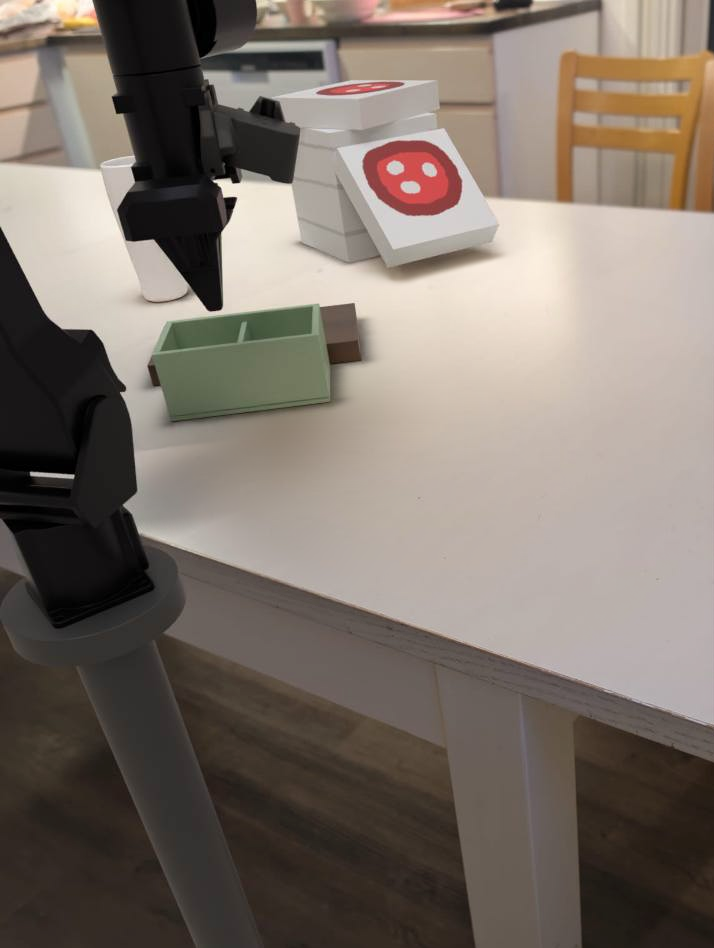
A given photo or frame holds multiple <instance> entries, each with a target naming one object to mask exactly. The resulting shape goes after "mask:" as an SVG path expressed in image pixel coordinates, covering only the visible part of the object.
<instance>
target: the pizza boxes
mask: <svg viewBox="0 0 714 948" xmlns="http://www.w3.org/2000/svg"><path fill="white" fill-rule="evenodd" d="M270 99H273V100H276V101H279V102H280V105H281V108H282V112H283V115H284V118H285V122H287V123H290V122H292V123H295V125H296V126H298V127H300V129H301V130H300V138H299V145H298V151H297V158H296V165H295V172H294V179H293V183H291V184H290V186H291V189H292V196H293V201H294V207H295V212H296V217H297V222H298V223H297V224H298V229H299V234H300V240H301V244H304V245H306V246H308V247H311V248H313V249H315V250H318V251H320V252H322V253H325V254H327V255H329V256H331V257H333V258H336V259H339V260H341V261H344V262H346V263H354V262H357V261H363V260H366V259H367V260H368V259H371V258H374V257H379V256H381V258H382V260H383V262H384V263H385V266H386V267H387V268H389V269H390V268H392V267H397V266H401V265H404V264H408V263H412V262H416V261H420V260H426V259H429V258H434V257H436V256H437V257H438V256H440V255H446V254H449V253H454V252H458V251H462V250H465V249H470V248H473V247H477V246H481V245H486V244H490V243H492V242H493V240H494V237H495V235H496V233H497V231H498V229H499V227H500V222H499V220H498V219H497V217H496V215H495V214H494V211H493V210H492V208H491V206H490V205H489V203H488V202H487V200H486V198H485V196H484V195H483V192H482V190H481V189H480V187H479V185H478V184H477V182H476V181H475V179H474V177H473V176H472V174H471V172H470V170H469V169H468V167H467V166H466V164H465V162H464V159H463V158H462V156H461V155H460V153H459V152H458V150H457V148H456V146H455V145H454V143H453V141H452V139H451V137H450V136H449V134H448V133H447V130H446V129H445V128H444V127H443V128H438V119H437V114H436V113H433V112H434V111H439V110H441V107H440V106H441V105H440V94H439V81H438V80H437V79H435V80H431V79H429V80H426V79H425V80H423V79H420V80H419V79H417V80H416V79H415V80H414V79H412V80H411V79H410V80H409V79H408V80H407V79H403V80H401V79H399V80H398V79H397V80H396V79H393V80H392V79H389V80H388V79H351V80H346V81H342V82H337V83H333V84H327V85H323V86H318V87H314V88H308V89H305V90H304V89H303V90H300V91H299V90H298V91H294V92H291V93H286V94H281V95H276V96H271V97H270Z"/></svg>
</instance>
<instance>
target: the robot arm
mask: <svg viewBox="0 0 714 948" xmlns="http://www.w3.org/2000/svg"><path fill="white" fill-rule="evenodd" d="M91 2H92V4H93V9H94V12H95V16H96V19H97V23H98V27H99V30H100V34H101V38H102V42H103V45H104V49H105V52H106V57H107V60H108V64H109V67H110V71H111V74H112V79H113V83H114V85H115V89H116V93H114V94H113V95H111V101H112V104H113V108H114V111H115V115H123V119H124V123H125V126H126V130H127V134H128V139H129V141H130V145H131V149H132V152H133V156H135V160H136V162H135V163H134V164H133V165H132V166H131V170H132V173H133V177H134V181H135V183H134V184H133V186H132V187H131V188H130V189H129V191H128V192H127V193H126V195H125V197H124V198H123V200H122V202H121V203H120V205H119V207H118V209H117V212H118V216H119V219H120V223H121V226H122V230H123V233H124V237H125V240H126V241H131V242H136V241H145V240H154V241H155V242H156V243H157V245H158V246H159V247H160V248H161V250H162V251H163V252H164V253H165V255H166V256H167V257H168V258H169V260H170V261H171V262H172V263H173V265H174V266H175V267H176V269H177V270H178V271H179V272H180V274H181V275H182V277H183V278H184V279H185V281H186V283H187V286H189V287H190V289H191V290H192V292H193V293H194V294H195V296H196V297H197V299H198V300H199V302H201V304H202V306H203V307H204V308H205V309H206V311H208V312H210V313H211V312H212V313H213V312H220V311H222V310H223V308H224V281H223V279H224V278H223V245H222V244H223V241H222V240H223V239H222V238H223V237H222V235H223V234H222V233H223V231H224V230H225V228H226V227H227V225H228V224H229V223H230V221H231V219H232V216H233V213H234V210H235V207H236V204H237V201H238V197H237V196H225V197H224V194H223V189H222V187H221V186H219V184H218V182H215V181H219V180H227V179H230V181H231V184H232V185H235V184H241V182H242V179H243V173H242V170H243V171H247V172H251V173H254V174H258V175H262V176H266V177H268V178H270V180H271V181H273V182H276V183H281V184H288V185H291V183H293V179H294V172H295V165H296V158H297V151H298V145H299V138H300V130H301V129H300V127H298V126H296V125H295V123H292V122H290V123H287V122H285V118H284V115H283V112H282V108H281V105H280V102H279V101H276V100H273V99H271V98H270V97H265V96H262V95H259V96H258V98H257V99H256V101H255V102H254V104H253V105H252V106H251V108H250V110H249V111H247V110H245V109H244V108H242V107H238V108H234V107H231V106H228V105H227V106H226V105H222V104H219V100H218V97H217V96H218V95H217V92H216V88H215V85H214V83H213V84H210V80H209V79H208V78H207V79H205V76H204V71H203V67H202V62H201V59H205V58H209V57H213V56H218V55H222V54H225V53H231V52H233V51H236V50H238V49H241V48H242V47H244V46H245V45H246V44H247V43H249V41H250V39H251V38H252V36H253V34H254V32H255V29H256V26H257V21H258V7H257V0H91ZM125 392H127V386H126V385H125V384H124V382H122V381H121V380H120V378H118V375H117V374H116V372H115V370H114V369H113V367H112V363H111V361H110V358H109V356H108V353H107V350H106V347H105V343H104V342H103V341H102V339H101V338H100V337H99V336H98V334H97V333H96V332H95V331H94V330H93V329H85V328H82V329H80V328H61V326H59V325H58V324H57V323H56V322H54V321H53V320H52V319H51V318H50V317H49V316H48V315H47V314H46V312H45V311H44V309H43V306H42V305H41V303H40V301H39V299H38V297H37V295H36V293H35V291H34V290H33V288H32V286H31V284H30V282H29V280H28V278H27V276H26V273H25V271H24V270H23V268H22V266H21V264H20V262H19V260H18V258H17V256H16V255H15V252H14V251H13V248H12V246H11V244H10V243H9V241H8V239H7V236H6V234H5V232H4V231H3V228H2V226H0V521H1V524H2V526H3V528H4V530H5V533H6V535H7V538H8V539H9V543H10V544H11V546H12V548H13V549H12V550H13V552H14V553H15V556H16V558H17V560H18V562H19V565H20V568H21V569H22V572H23V574H24V577H25V576H26V579H27V582H26V583H25V587H26V590H27V592H28V593H29V594H30V596H31V597H32V599H33V600H34V601H35V603H36V604H37V605H38V607H39V608H40V610H41V611H42V612H43V614H44V615H45V617H46V618H47V619H48V621H49V622H50V623H51V625H52V626H53V627H54V628H55V629H61V628H64V627H67V626H69V625H71V624H74V623H76V622H79V621H81V620H83V619H86V618H88V617H91V616H93V615H96V614H98V613H100V612H103V611H105V610H108V609H110V608H112V607H115V606H117V605H120V604H122V603H125V602H127V601H129V600H132V599H134V598H137V597H139V596H141V595H144V594H146V593H149V592H151V591H153V590H154V589H155V586H154V583H153V580H152V579H151V578H150V577H149V576H148V575H147V574H146V573H145V572H144V571H145V570H147V569H148V567H149V562H148V559H147V556H146V554H145V551H144V548H143V545H144V544H143V543H142V539H141V536H140V533H139V530H138V527H137V523H136V522H135V518H134V515H133V513H131V511H129V510H128V509H127V508H126V507H125V504H126V503H127V502H128V501H129V500H131V498H133V497H134V496H135V495H137V493H138V479H137V470H136V469H137V468H136V458H135V446H134V436H133V425H132V419H131V416H130V411H129V408H128V406H127V402H126V401H125V399H124V397H123V395H122V393H125ZM31 473H40V474H41V473H42V474H54V475H69V476H70V475H71V476H73V478H69V477H68V478H67V477H53V476H41V475H40V476H38V475H31Z"/></svg>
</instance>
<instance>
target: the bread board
mask: <svg viewBox="0 0 714 948" xmlns="http://www.w3.org/2000/svg"><path fill="white" fill-rule="evenodd" d="M320 311H321V317H322V323H323V328H324V334H325V340H326V345H327V351H328V356H329V362H330V365H332V364H333V365H334V364H340V363H348V362H357V361H362V355H361V344H360V343H361V342H360V334H359V332H360V331H359V323H358V316H357V310H356V303H355V302H350V303H343V304H342V303H340V304H333V305H326V306H325V305H324V306H320ZM162 331H163V329H162V330H161V333H162ZM161 333H160V334H161ZM159 338H160V336H159V337H158V340H159ZM158 340H157V341H158ZM146 367H147V370H148V373H149V377H150V381H151V384H152V386H161V384H160V381H159V377H158V374H157V371H156V367H155V364H154V360H153V357H152V355H151V356H150V359H149V360H148V363H147V366H146Z"/></svg>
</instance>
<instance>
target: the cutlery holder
mask: <svg viewBox="0 0 714 948" xmlns="http://www.w3.org/2000/svg"><path fill="white" fill-rule="evenodd" d="M320 307H321V306H320V303H311V304H303V305H301V304H300V305H294V306H287V307H286V306H284V307H277V308H269V309H262V310H261V309H260V310H259V309H258V310H251V311H244V312H235V313H225V314H218V315H209V316H199V317H192V318H185V319H184V318H183V319H175V320H168V321H166V322H165V324H164V326H163V328H162V330H163V331H162V330H161V332H162V333H160V334H159V337H160V338H159V337H158V339H159V340H157V342H156V345H155V347H154V349H153V351H152V354H151V356H152V357H153V360H154V364H155V367H156V371H157V374H158V377H159V381H160V384H161V385H160V387H161V392H162V395H163V397H164V398H163V399H164V401H165V405H166V408H167V411H168V412H167V413H168V416H169V419H170V422H178V421H179V422H180V421H187V420H194V419H201V418H202V419H203V418H211V417H219V416H225V415H235V414H243V413H252V412H258V411H268V410H275V409H282V408H291V407H292V408H293V407H298V406H308V405H316V404H322V403H330V402H331V364H330V362H329V356H328V351H327V345H326V340H325V334H324V328H323V323H322V317H321V311H320Z"/></svg>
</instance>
